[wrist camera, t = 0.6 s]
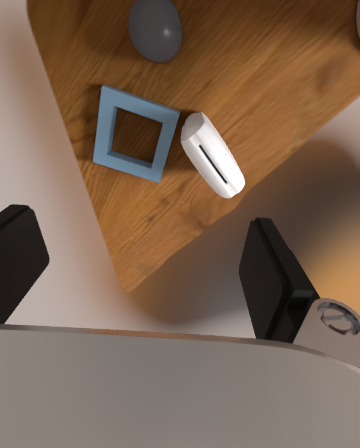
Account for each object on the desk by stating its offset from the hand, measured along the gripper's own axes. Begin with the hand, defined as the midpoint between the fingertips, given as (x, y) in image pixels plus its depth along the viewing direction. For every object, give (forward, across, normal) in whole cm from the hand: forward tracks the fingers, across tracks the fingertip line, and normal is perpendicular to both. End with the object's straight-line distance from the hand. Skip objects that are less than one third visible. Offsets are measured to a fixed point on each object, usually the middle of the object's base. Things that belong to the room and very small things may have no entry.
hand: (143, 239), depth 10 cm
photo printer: (+30, -6, +2) cm, 31 cm away
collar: (+30, +6, +2) cm, 31 cm away
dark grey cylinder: (+30, +2, -10) cm, 32 cm away
